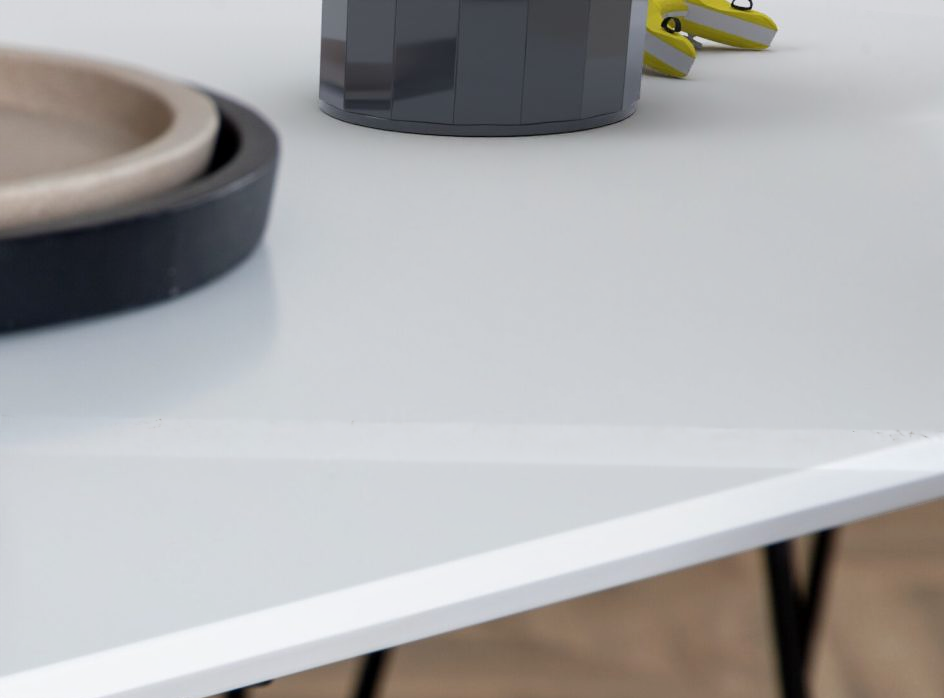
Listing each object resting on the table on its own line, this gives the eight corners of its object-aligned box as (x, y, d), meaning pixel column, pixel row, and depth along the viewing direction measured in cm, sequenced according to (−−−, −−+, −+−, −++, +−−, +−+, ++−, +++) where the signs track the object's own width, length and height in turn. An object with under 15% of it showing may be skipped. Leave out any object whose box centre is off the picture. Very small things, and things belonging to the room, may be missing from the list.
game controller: (654, 18, 122) (683, -43, 119) (755, 74, 119) (787, 13, 117) (566, 45, 115) (595, -19, 113) (671, 105, 112) (703, 41, 110)
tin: (615, 75, 113) (631, -104, 109) (656, 136, 99) (675, -66, 96) (318, 76, 114) (323, -100, 111) (318, 136, 101) (325, -62, 98)
